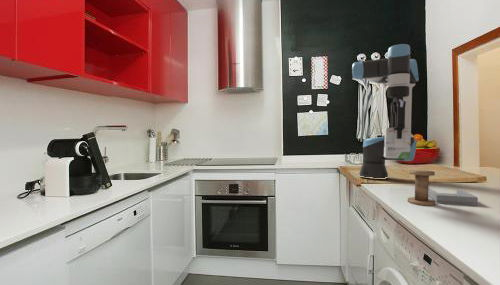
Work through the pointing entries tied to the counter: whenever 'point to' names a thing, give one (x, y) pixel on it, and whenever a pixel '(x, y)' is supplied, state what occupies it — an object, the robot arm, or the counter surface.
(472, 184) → the counter surface
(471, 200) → the grey piece
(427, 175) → the bobbin
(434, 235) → the counter surface
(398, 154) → the ink box
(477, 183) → the counter surface
